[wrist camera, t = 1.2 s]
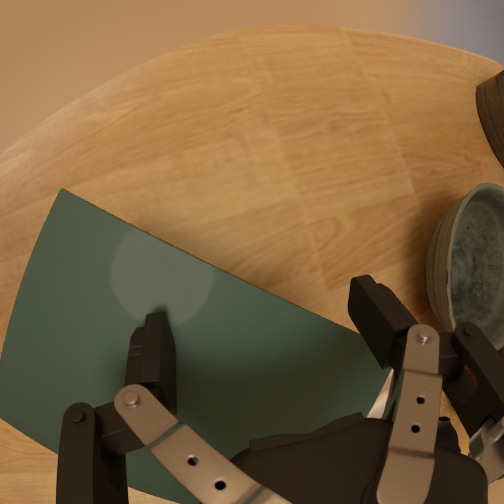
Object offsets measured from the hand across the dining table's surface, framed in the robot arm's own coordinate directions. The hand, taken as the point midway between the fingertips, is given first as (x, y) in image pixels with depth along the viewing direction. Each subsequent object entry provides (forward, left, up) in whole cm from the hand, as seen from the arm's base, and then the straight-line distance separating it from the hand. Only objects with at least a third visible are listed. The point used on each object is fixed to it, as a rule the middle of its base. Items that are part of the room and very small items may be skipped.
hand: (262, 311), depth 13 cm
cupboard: (+2, -5, -18) cm, 19 cm away
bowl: (+15, +28, -18) cm, 36 cm away
